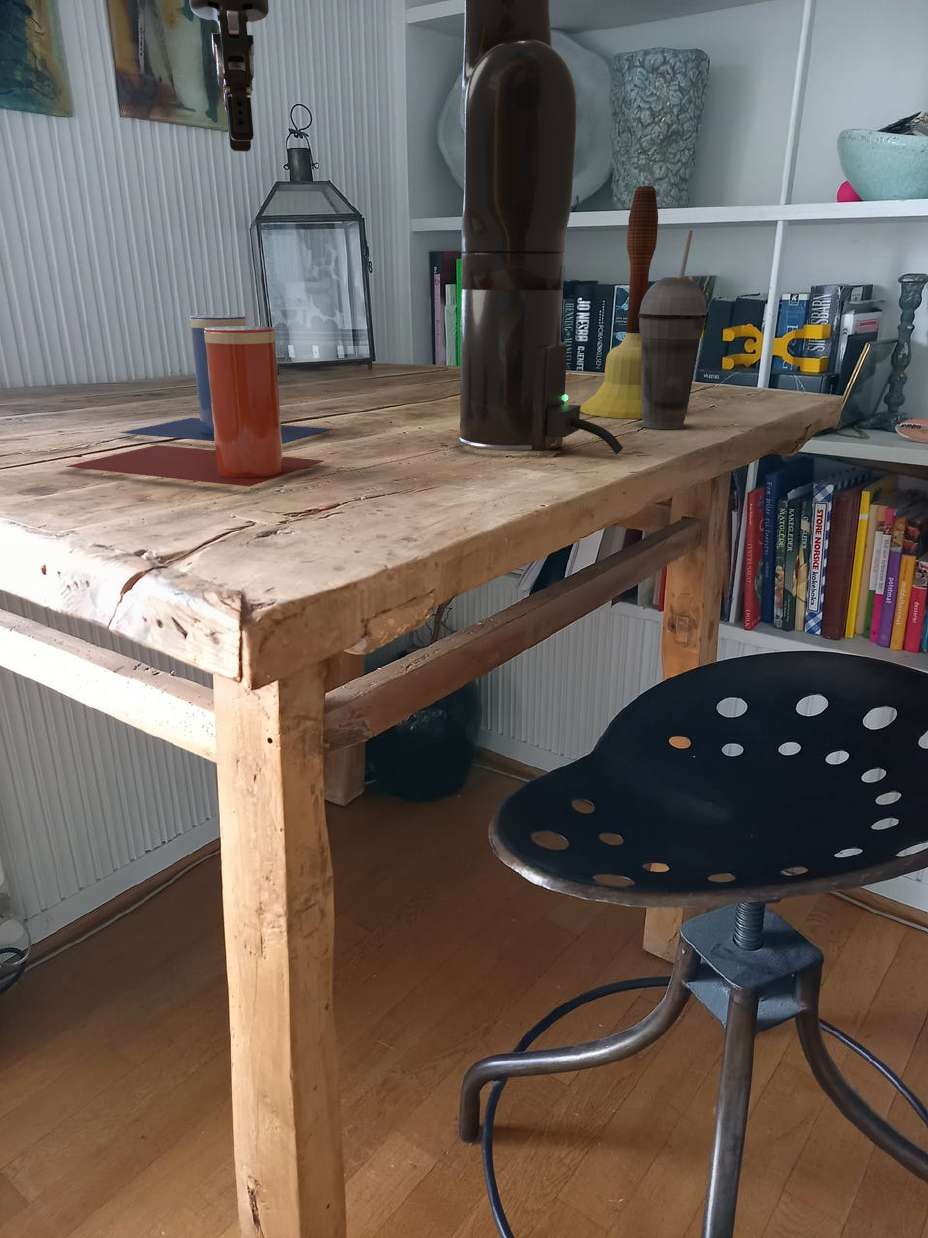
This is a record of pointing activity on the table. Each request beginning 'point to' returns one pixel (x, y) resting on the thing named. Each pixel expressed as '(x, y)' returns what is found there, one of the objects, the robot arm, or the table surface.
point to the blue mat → (193, 431)
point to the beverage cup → (670, 347)
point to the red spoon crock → (245, 400)
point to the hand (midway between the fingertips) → (241, 145)
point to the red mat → (181, 465)
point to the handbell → (630, 318)
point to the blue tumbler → (201, 362)
